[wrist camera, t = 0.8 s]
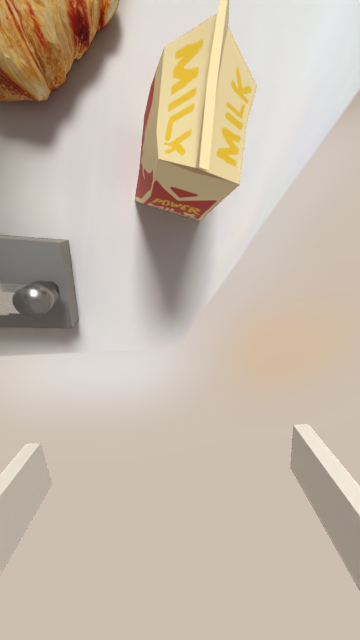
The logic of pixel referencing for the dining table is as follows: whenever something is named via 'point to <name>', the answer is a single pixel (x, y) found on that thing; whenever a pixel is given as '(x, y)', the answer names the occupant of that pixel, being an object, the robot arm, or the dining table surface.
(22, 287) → the swing arm
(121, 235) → the dining table surface
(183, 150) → the milk carton
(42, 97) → the croissant
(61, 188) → the dining table surface
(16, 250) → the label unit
